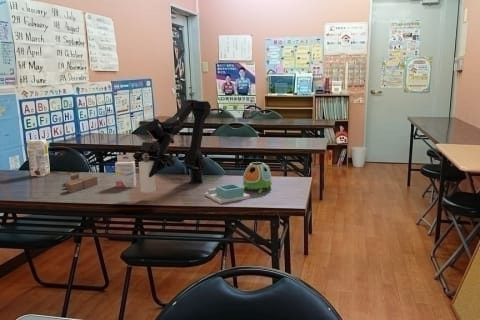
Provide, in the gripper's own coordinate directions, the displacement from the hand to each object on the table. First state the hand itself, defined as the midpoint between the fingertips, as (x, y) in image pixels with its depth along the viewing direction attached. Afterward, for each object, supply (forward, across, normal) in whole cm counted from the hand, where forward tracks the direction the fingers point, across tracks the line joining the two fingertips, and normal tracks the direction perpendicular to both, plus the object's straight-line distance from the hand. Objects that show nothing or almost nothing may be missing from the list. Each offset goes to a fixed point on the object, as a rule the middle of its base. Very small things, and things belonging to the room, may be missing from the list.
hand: (145, 176), depth 179 cm
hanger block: (+4, 0, +6) cm, 7 cm away
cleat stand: (-7, +28, +21) cm, 35 cm away
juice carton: (0, -84, +14) cm, 85 cm away
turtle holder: (-19, +33, +34) cm, 51 cm away
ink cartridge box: (-2, -24, +17) cm, 30 cm away
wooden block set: (+7, -47, +8) cm, 48 cm away
